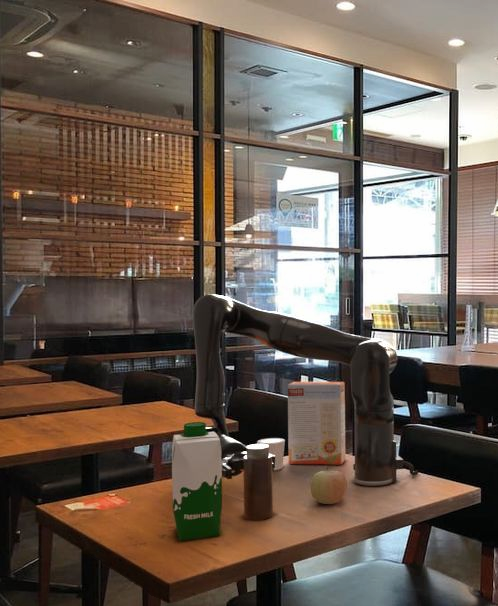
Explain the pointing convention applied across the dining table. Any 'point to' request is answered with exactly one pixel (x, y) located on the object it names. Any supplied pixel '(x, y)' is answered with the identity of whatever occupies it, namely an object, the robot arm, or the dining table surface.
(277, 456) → the white cup
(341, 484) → the fruit
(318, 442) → the cracker box
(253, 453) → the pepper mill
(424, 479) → the dining table surface
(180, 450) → the milk carton
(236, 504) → the dining table surface
